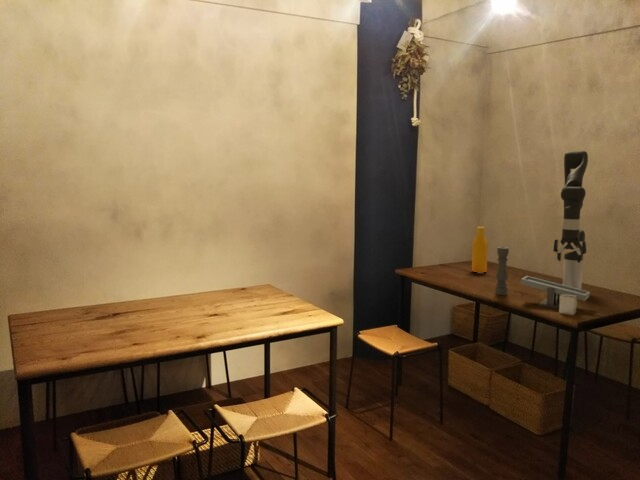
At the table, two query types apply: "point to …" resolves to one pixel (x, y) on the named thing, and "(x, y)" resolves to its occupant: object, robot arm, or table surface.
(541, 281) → the beam
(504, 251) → the candle holder
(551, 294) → the pivot stand
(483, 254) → the beer bottle
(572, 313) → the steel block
